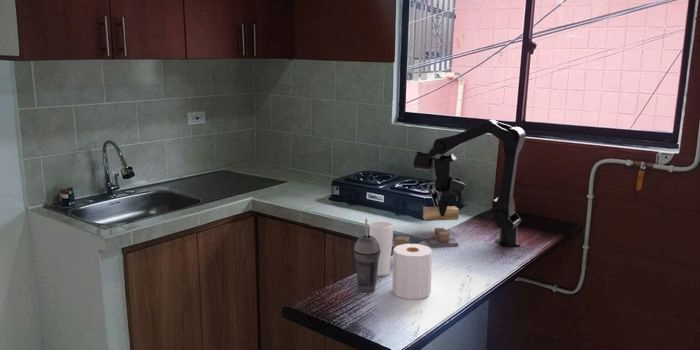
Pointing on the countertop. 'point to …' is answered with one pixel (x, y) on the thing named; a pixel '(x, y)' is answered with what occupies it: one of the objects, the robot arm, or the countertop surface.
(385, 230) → the drinking glass
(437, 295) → the countertop surface
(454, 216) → the oak bar
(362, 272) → the beverage cup
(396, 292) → the toilet paper
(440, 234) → the balance stand
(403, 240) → the wooden block
